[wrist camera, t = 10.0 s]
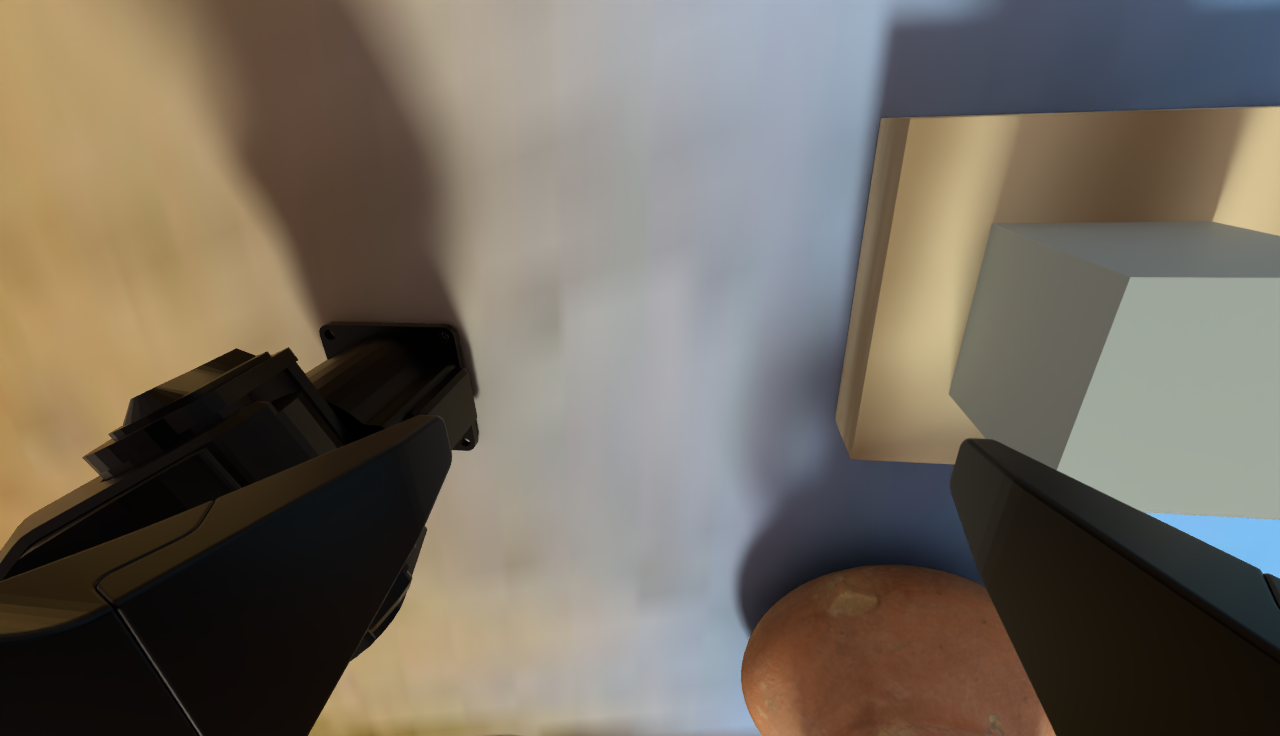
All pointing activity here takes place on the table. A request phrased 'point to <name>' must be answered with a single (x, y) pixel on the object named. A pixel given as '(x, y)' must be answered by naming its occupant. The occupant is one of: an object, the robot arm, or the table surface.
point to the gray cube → (1133, 360)
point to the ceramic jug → (888, 660)
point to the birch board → (1014, 193)
